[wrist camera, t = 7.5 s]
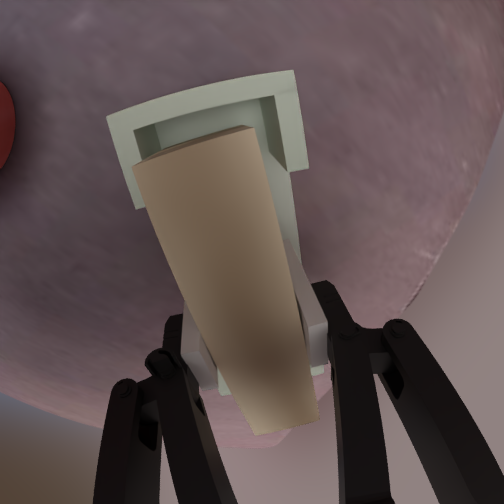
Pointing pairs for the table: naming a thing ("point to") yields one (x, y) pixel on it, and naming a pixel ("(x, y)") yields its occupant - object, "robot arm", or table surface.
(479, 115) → the table surface
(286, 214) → the green tray
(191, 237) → the wooden block
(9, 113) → the flower pot
